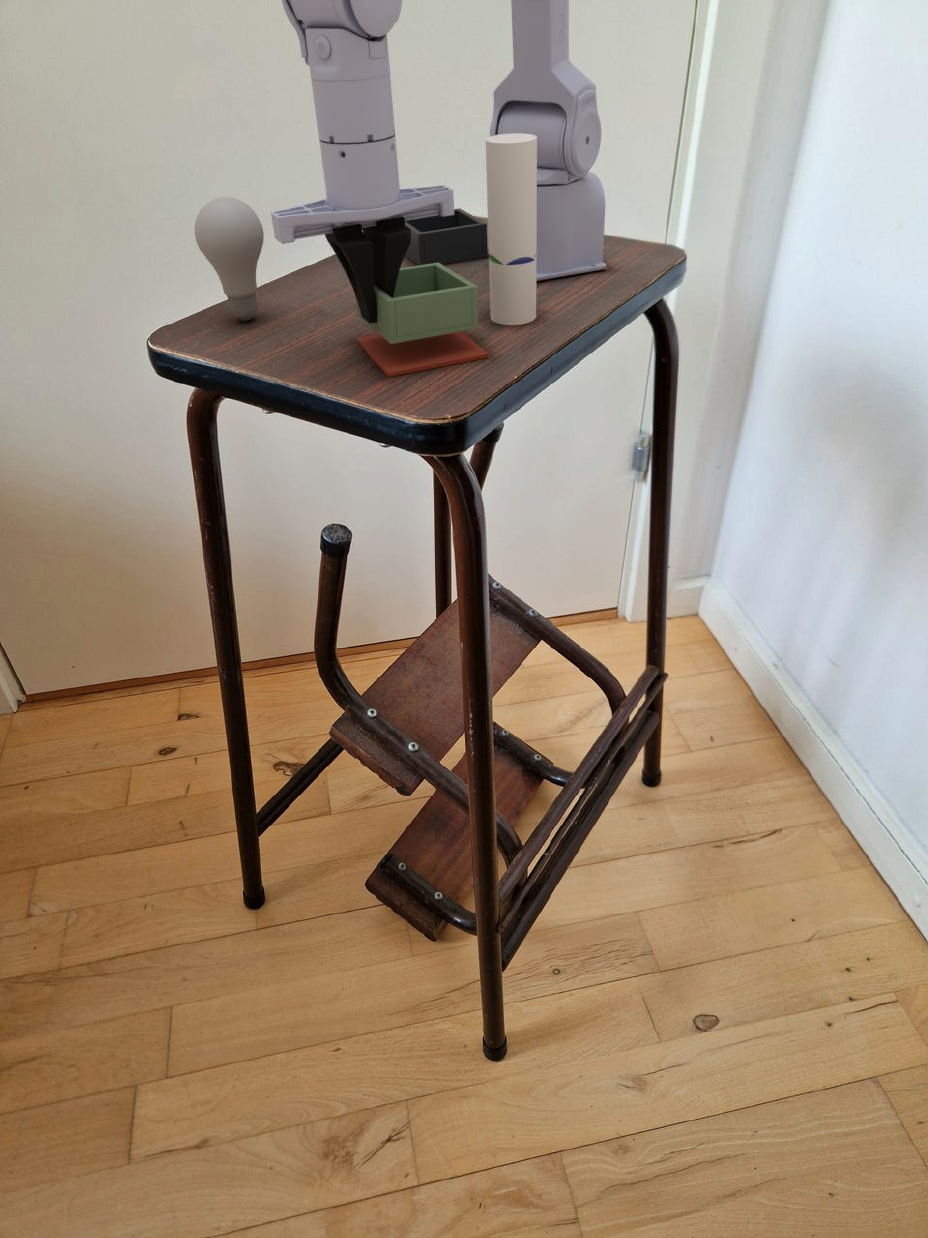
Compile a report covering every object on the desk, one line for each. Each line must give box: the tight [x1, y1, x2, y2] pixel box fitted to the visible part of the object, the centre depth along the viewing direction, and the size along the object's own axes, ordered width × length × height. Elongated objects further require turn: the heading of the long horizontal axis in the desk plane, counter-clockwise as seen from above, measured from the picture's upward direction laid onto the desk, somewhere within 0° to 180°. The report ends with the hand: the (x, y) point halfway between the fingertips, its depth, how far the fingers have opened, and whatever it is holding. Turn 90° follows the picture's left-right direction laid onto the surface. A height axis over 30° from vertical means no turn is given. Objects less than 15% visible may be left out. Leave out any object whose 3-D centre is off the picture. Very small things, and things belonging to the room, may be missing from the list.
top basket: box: [355, 263, 479, 344], centre depth 75 cm, size 8×8×4 cm
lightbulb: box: [194, 196, 265, 322], centre depth 82 cm, size 6×6×11 cm
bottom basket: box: [405, 208, 489, 266], centre depth 99 cm, size 8×8×4 cm
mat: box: [356, 331, 489, 378], centre depth 77 cm, size 9×9×1 cm
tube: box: [485, 133, 537, 326], centre depth 78 cm, size 4×4×15 cm
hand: (376, 317), depth 74 cm, fingers closed on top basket
